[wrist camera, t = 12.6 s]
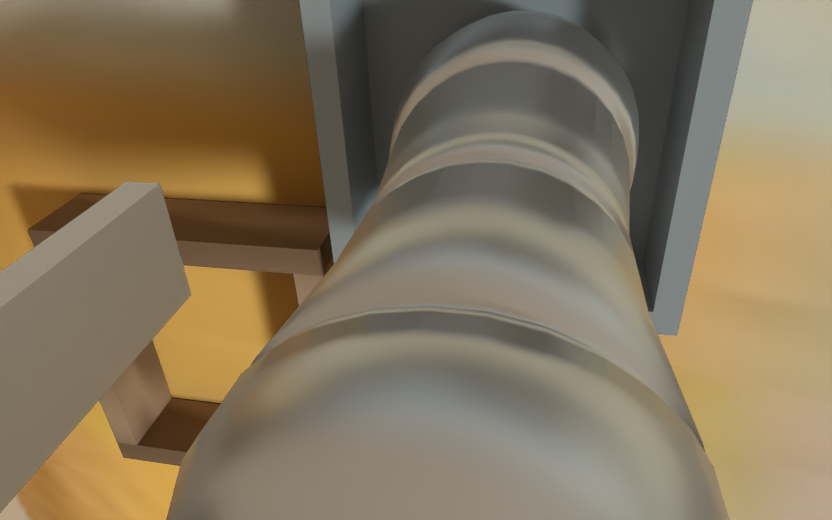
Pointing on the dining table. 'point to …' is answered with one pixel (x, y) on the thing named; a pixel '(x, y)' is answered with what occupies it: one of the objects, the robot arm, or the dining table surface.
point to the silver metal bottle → (473, 320)
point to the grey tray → (614, 28)
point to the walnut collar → (206, 247)
